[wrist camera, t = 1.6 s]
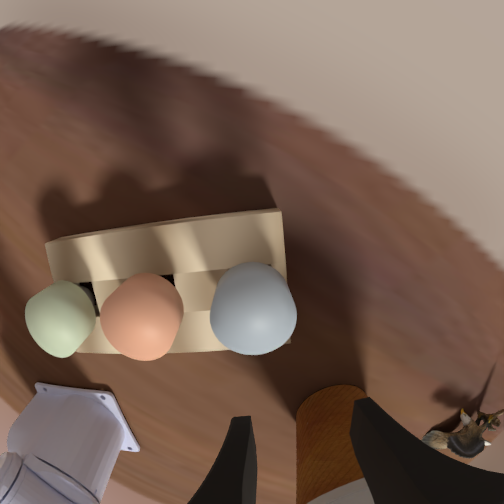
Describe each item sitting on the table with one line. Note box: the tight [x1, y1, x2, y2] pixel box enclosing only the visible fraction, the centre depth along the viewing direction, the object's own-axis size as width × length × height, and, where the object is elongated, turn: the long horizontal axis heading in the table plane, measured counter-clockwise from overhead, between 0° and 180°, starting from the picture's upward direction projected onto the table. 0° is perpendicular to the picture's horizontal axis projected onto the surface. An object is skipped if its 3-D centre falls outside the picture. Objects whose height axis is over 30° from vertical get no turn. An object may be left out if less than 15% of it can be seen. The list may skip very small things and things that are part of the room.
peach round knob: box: [100, 273, 184, 361], centre depth 15 cm, size 4×4×4 cm
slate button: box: [210, 262, 297, 355], centre depth 15 cm, size 4×4×4 cm
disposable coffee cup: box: [296, 385, 375, 504], centre depth 16 cm, size 10×10×12 cm
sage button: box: [25, 280, 96, 358], centre depth 15 cm, size 4×4×4 cm
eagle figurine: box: [421, 409, 504, 458], centre depth 21 cm, size 8×7×9 cm
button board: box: [45, 208, 291, 354], centre depth 18 cm, size 15×8×2 cm, turn 96°
